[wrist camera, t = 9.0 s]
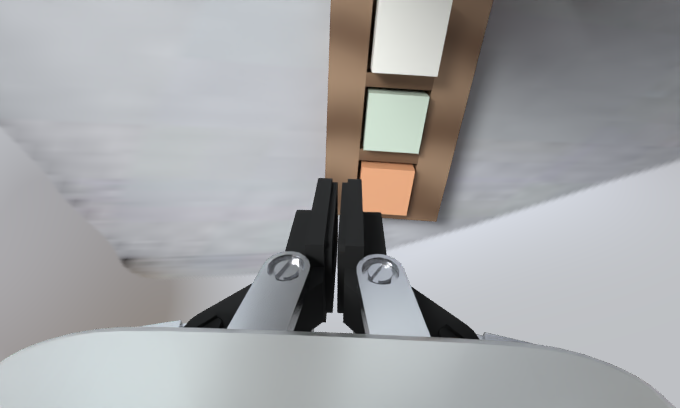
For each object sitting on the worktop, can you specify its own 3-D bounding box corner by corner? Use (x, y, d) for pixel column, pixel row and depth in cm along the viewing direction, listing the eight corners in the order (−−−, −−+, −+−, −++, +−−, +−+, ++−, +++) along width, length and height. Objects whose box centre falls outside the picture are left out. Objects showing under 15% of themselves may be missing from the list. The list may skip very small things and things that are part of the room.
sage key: (367, 85, 26) (369, 92, 24) (422, 88, 26) (429, 96, 24) (362, 138, 29) (363, 149, 26) (412, 141, 29) (418, 153, 26)
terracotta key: (361, 154, 29) (361, 167, 27) (410, 157, 29) (415, 171, 27) (357, 196, 32) (357, 212, 29) (402, 199, 32) (406, 215, 29)
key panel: (334, -21, 23) (331, -26, 21) (481, -12, 23) (497, -16, 21) (326, 198, 33) (324, 213, 31) (429, 205, 33) (436, 221, 30)
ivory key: (377, -4, 22) (379, -7, 20) (441, 0, 22) (453, -2, 19) (370, 66, 24) (371, 72, 22) (428, 70, 24) (437, 76, 22)
